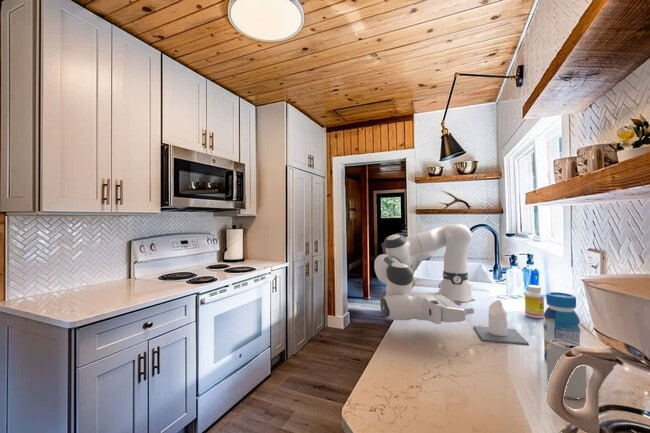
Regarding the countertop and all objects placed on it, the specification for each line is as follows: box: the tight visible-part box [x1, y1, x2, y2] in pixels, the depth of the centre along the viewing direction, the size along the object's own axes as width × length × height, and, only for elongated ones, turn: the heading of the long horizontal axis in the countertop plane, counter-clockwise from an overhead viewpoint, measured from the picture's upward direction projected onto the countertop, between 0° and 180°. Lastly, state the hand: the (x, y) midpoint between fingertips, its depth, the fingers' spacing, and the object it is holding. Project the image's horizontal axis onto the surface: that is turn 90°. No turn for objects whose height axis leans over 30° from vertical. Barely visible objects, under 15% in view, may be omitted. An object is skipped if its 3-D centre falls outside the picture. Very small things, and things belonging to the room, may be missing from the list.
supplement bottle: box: [524, 284, 545, 319], centre depth 129 cm, size 7×7×13 cm
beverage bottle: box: [542, 291, 581, 363], centre depth 87 cm, size 8×8×20 cm
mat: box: [473, 325, 530, 346], centre depth 108 cm, size 13×14×1 cm
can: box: [546, 339, 587, 400], centre depth 73 cm, size 8×8×12 cm
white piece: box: [488, 299, 508, 336], centre depth 109 cm, size 6×12×6 cm
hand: (466, 306), depth 108 cm, fingers open, 8 cm apart
